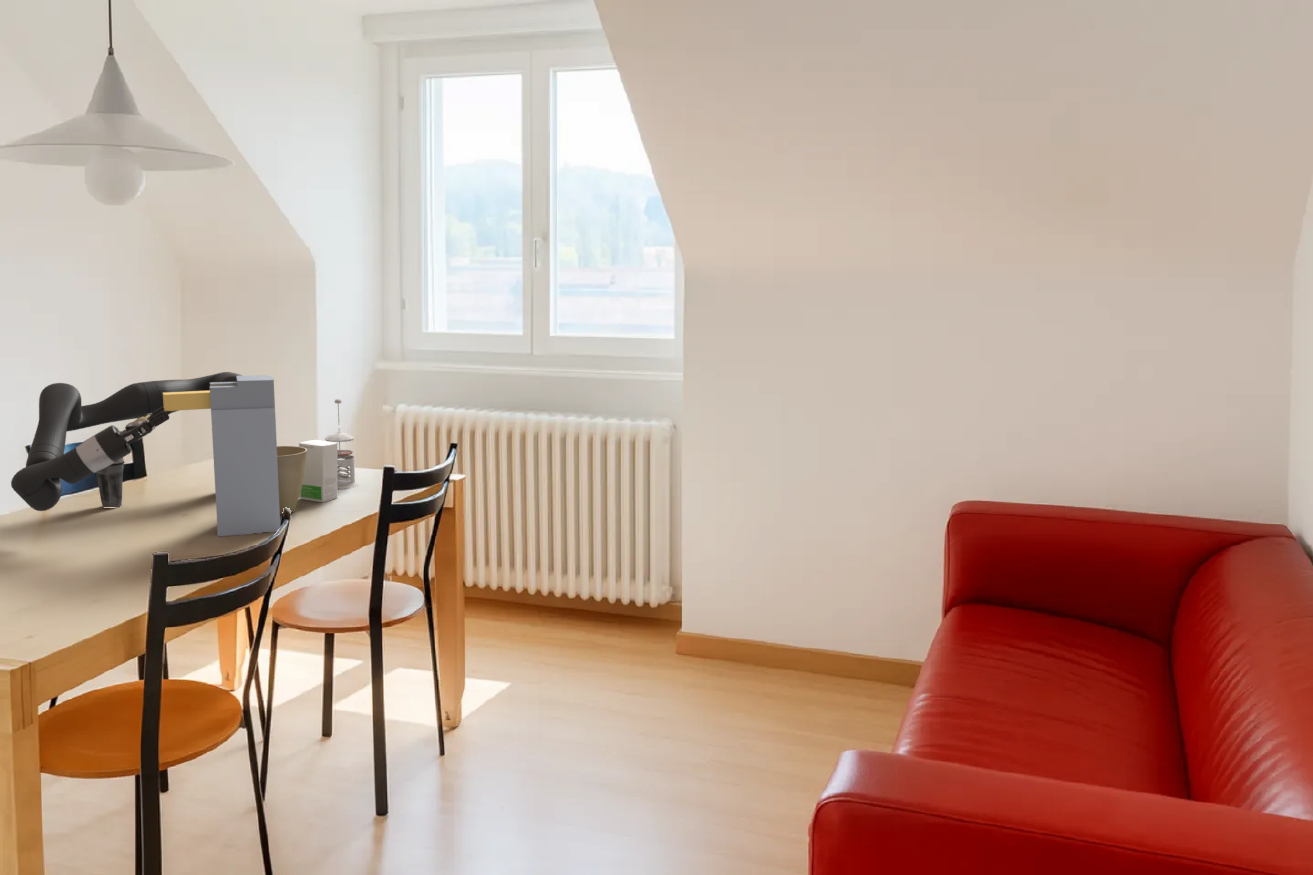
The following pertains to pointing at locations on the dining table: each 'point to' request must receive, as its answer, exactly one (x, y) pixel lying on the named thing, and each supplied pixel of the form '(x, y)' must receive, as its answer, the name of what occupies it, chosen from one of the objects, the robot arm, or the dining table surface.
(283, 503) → the plant pot
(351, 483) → the french press
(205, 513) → the dining table surface
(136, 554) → the dining table surface
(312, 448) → the skincare box
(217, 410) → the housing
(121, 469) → the beverage cup
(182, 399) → the bar
